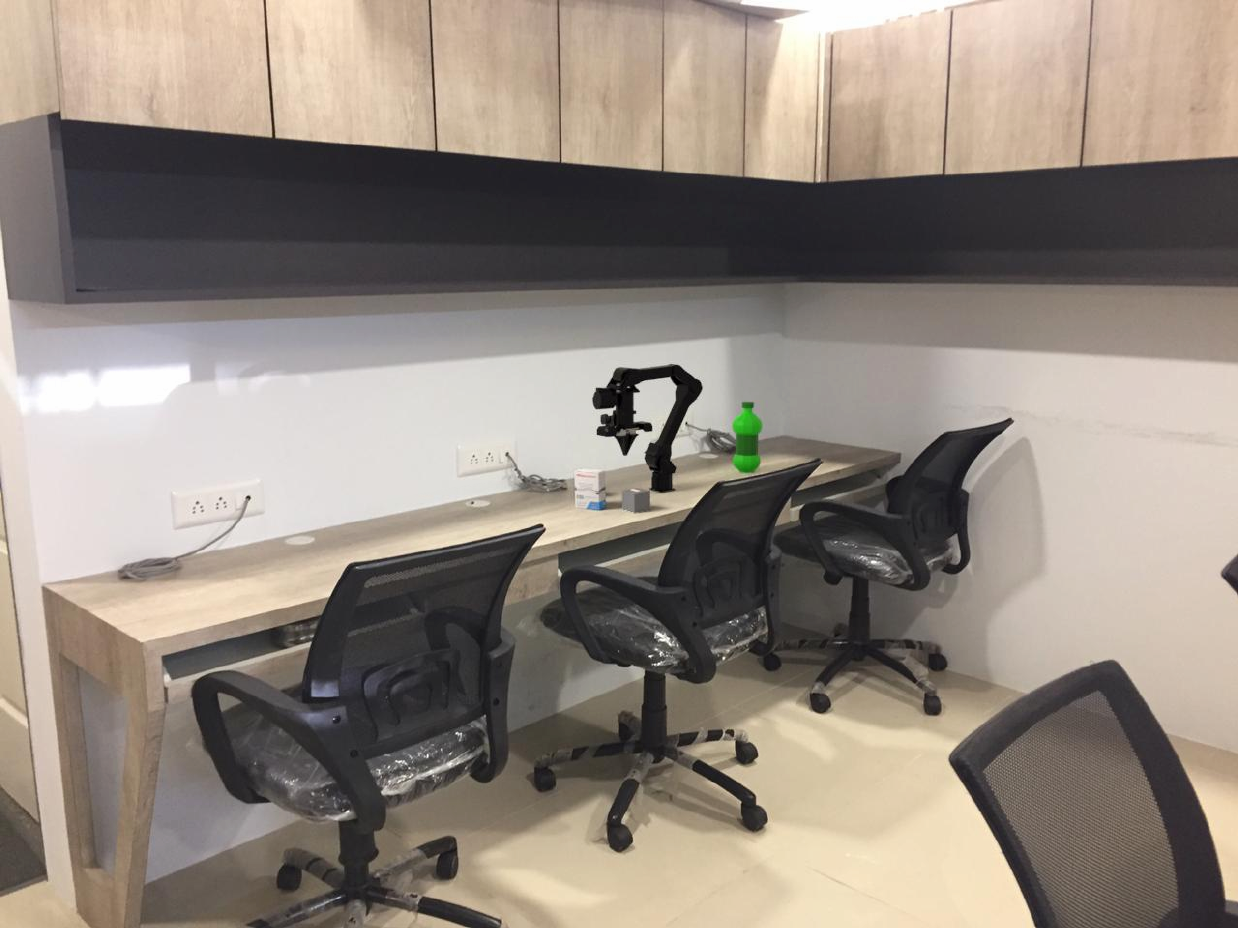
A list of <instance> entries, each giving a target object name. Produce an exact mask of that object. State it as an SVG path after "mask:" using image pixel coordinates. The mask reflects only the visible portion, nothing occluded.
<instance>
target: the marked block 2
mask: <svg viewBox="0 0 1238 928" xmlns="http://www.w3.org/2000/svg"><path fill="white" fill-rule="evenodd" d="M650 491H651V490H647V489H643V488H639V487H634V488H630V489H624V490H621V510H622V509H623V510H622V511H624V510H627V511H626V512H628V511H630V512H629V513H631V512H634V513H633V514H637V513H636V512H639V513H642V512H641V511H644V512H648V511H647V510H649V511H651V499H650V498H651V492H650Z"/></svg>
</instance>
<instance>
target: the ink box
mask: <svg viewBox="0 0 1238 928" xmlns="http://www.w3.org/2000/svg"><path fill="white" fill-rule="evenodd" d="M573 473H574V474H573V475H574V476H573V477H574V478H573V479H574V480H575V497H574V501H575V502H574V506H575V507H574V508H575V509H583V510H590V509H591V510H592V511H601V510H602V509H606V507H607V501H606V499H607V497H606V495H607V494H606V493H607V492H606V470H604V469H596V468H595V469H593V468H580V469H576V470H575V471H573Z"/></svg>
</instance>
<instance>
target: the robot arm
mask: <svg viewBox="0 0 1238 928" xmlns="http://www.w3.org/2000/svg"><path fill="white" fill-rule="evenodd" d="M665 378H669V379H670V380H671V382H672V383H673V384H674V385H675V386H676V389H675V401H674V403H673V406H672V408H671V410H670V412H669V414H668V416H667V420H666V421H665V424H664V426H663V428H662V430H661V432H660V434H659V437H658V439H657V440H656V441H655V442H652V441H650V442H648V443H649V444H648V446H647V449H646V450H645V451H644V454H645V456H644V461H645V464H646V465H647V466H648V469H649V471H651V477H650V480H651V481H650V484H651V485H650V487H649V488H648V491H653V492H658V493H661V494H662V493H667V492H673V491H676V488H674V487H673V480H674V479H673V478H674V477H673V475H674V474H675V473H676V472H677V466H676V465H675V464H674V462H673V461H671V459H672V455H673V453H672V451H673V448H672V447H673V443H674V442H675V439H676V437H677V434H678V432H679V430H680V428H681V426H682V423H683V421H684V419H685V416H686V415H687V412H688V410H689V408H690V406H691V405H692V404H693V403H695V402H696V401H697V400H698V398H699V397H700V395H701V393H702V392H703V389H704V388H703V387H704V385H703V383H702V381H701V380H700V379H698V378H696V377H694V376H693V375H692V374H691V373H689V372H688V371H686V370H685V369H684V368H683V367H682V366H681V365H679V364H676V363H675V364H674V363H669V364H665V365H664V364H663V365H658V366H650V367H642V368H634V367H622V366H619V367H616V368H615V370H614V371H613V373H612V377H611V378H610V380H609V381H608V384H606V386H605V387H600V386H599V387H595V391H594V392H593V395H592V398H591V400H592V401H591V402H592V405H593V407H594V409H595V410H607V409H613V411H612V414H611V415H609V414H608V413H603V414H601V415H600V418H599V419H600V424H601V425H600V426H599V425H598V426H597V429H596V436H600V437H605V438H611V437H614V438H615V440H617V443H618V445H619V448H620V451H621V454H622V455H623V456H624V457H626V456H628V455H629V452H630V450H631V448H632V446H633V443H634V442H635V440H636V438H637V437H638V436H640V434H639V433H637V431H642V430H643V432H644V433H649V432H650V433H651V432H653V424H652V423H651V422H649V421H644V420H641V421H640V420H639V421H635V420H634V419H635V416H634V415H637V410H634V408H635V406H634V405H635V403H634V401H635V396H634V394H636V393H640V392H641V390H640V389H639V388H637V386H636V385H639V384H641V383H642V382H645V381H650V380H651V381H652V380H659V379H665ZM614 408H615V409H614Z"/></svg>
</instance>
